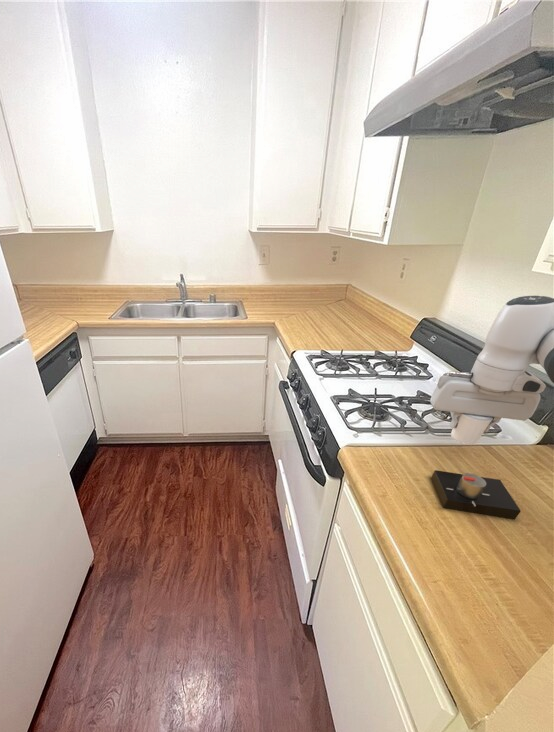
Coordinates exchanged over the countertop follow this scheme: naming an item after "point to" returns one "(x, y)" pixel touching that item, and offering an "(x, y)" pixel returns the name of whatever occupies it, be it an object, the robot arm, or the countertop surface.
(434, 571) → the countertop surface
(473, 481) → the hob knob
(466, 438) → the white cylinder
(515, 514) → the black knob base
